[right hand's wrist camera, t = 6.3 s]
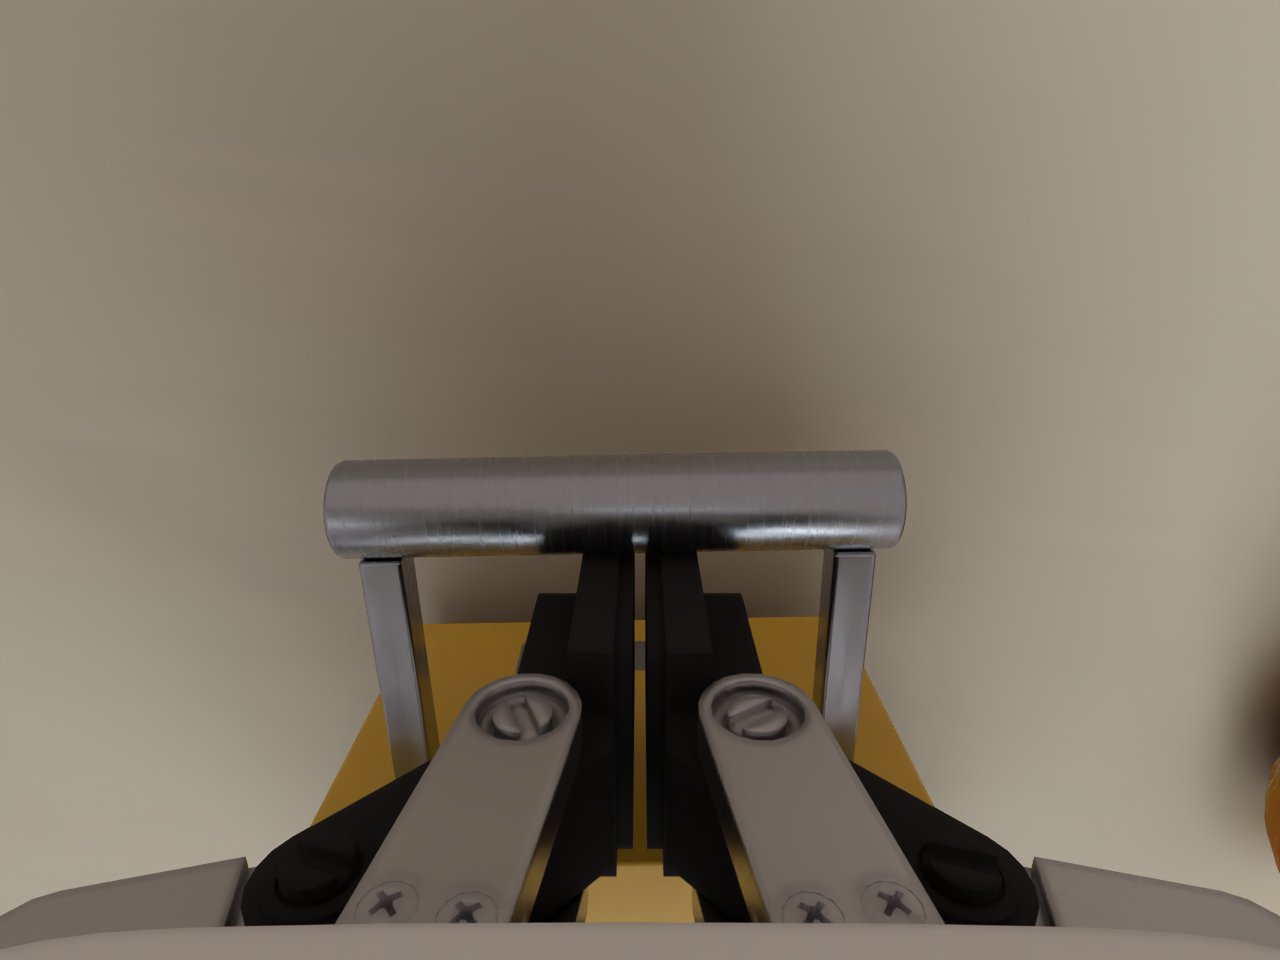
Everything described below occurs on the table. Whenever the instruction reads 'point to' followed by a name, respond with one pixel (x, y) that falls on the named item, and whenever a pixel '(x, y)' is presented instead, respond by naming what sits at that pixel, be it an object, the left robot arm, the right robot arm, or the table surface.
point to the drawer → (635, 523)
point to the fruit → (1274, 811)
